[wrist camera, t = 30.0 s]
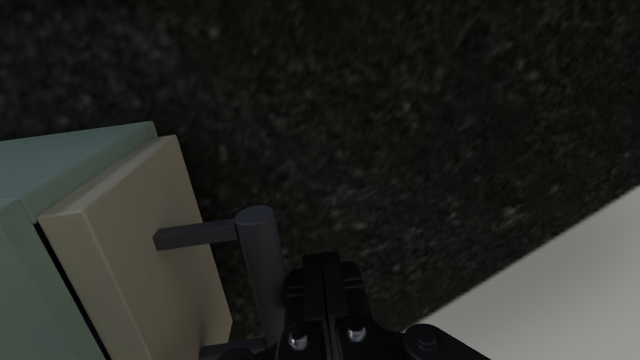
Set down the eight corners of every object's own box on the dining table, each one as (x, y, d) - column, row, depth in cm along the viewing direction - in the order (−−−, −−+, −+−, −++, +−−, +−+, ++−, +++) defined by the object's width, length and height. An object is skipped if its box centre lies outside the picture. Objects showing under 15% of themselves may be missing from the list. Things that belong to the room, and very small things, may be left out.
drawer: (270, 121, 15) (252, 186, 8) (305, 310, 20) (311, 450, 13) (-126, 175, 15) (-476, 288, 8) (1, 355, 19) (-154, 523, 13)
